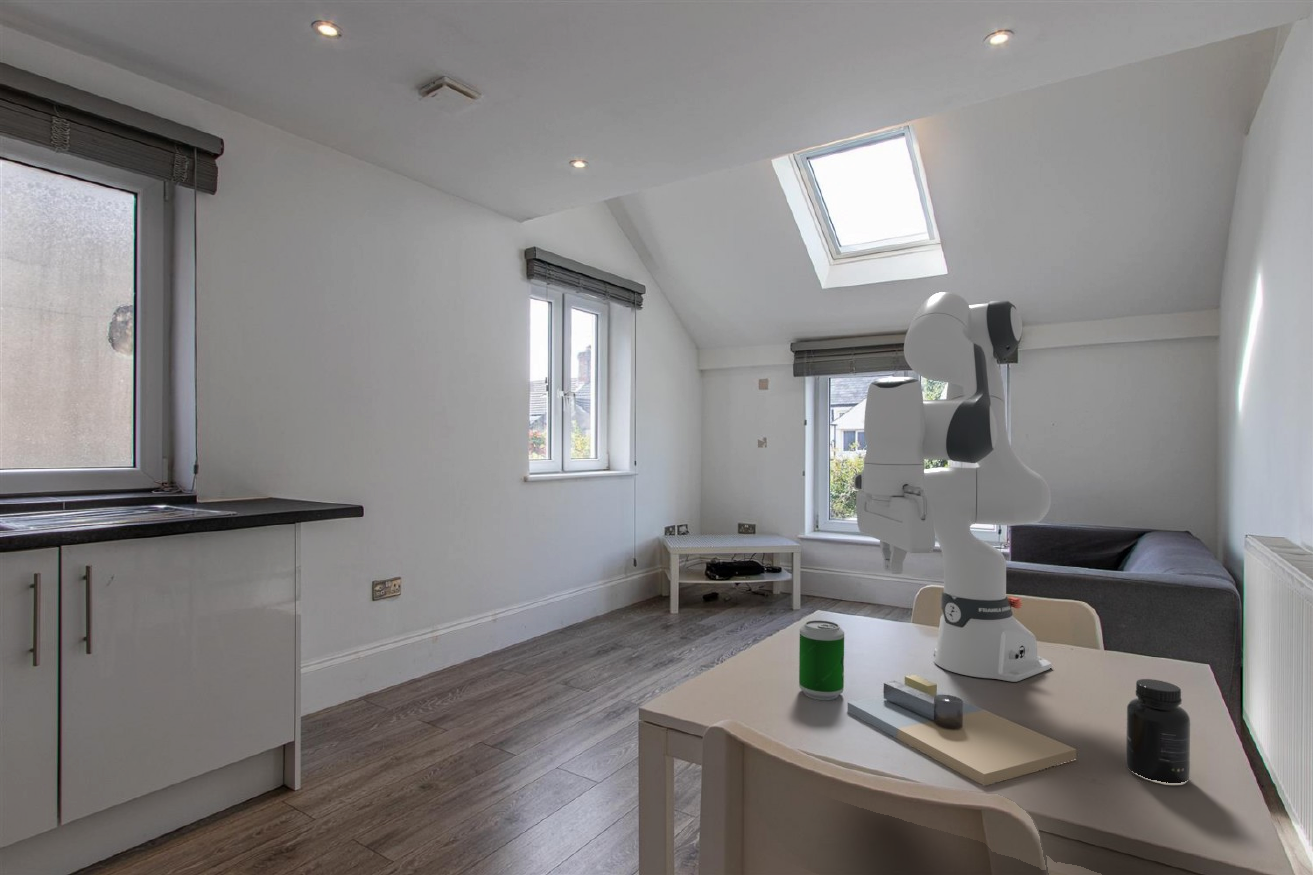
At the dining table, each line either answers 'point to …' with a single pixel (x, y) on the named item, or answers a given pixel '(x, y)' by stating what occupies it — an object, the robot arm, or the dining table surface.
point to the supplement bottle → (1158, 733)
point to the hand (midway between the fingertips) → (892, 572)
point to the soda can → (821, 660)
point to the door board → (966, 738)
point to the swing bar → (927, 704)
